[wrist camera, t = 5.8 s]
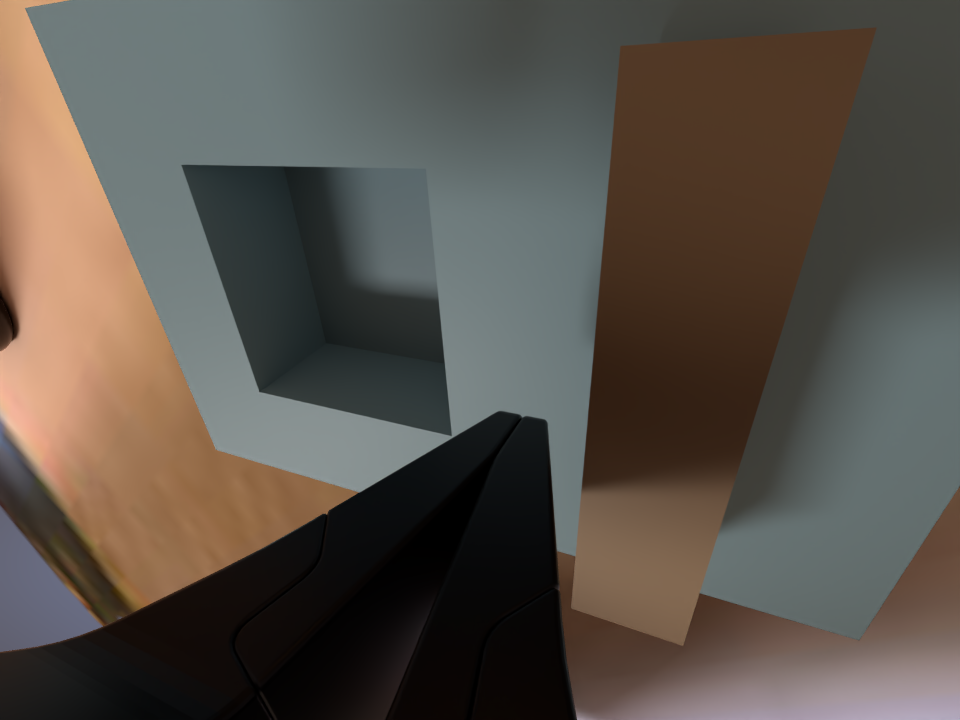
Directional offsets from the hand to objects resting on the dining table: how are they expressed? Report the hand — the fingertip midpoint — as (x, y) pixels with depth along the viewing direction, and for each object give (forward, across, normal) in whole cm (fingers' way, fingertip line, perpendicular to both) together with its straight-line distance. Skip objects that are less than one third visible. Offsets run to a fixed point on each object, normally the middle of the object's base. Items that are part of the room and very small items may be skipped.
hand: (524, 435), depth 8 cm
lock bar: (+2, -2, -1) cm, 3 cm away
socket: (+5, +2, -1) cm, 6 cm away
